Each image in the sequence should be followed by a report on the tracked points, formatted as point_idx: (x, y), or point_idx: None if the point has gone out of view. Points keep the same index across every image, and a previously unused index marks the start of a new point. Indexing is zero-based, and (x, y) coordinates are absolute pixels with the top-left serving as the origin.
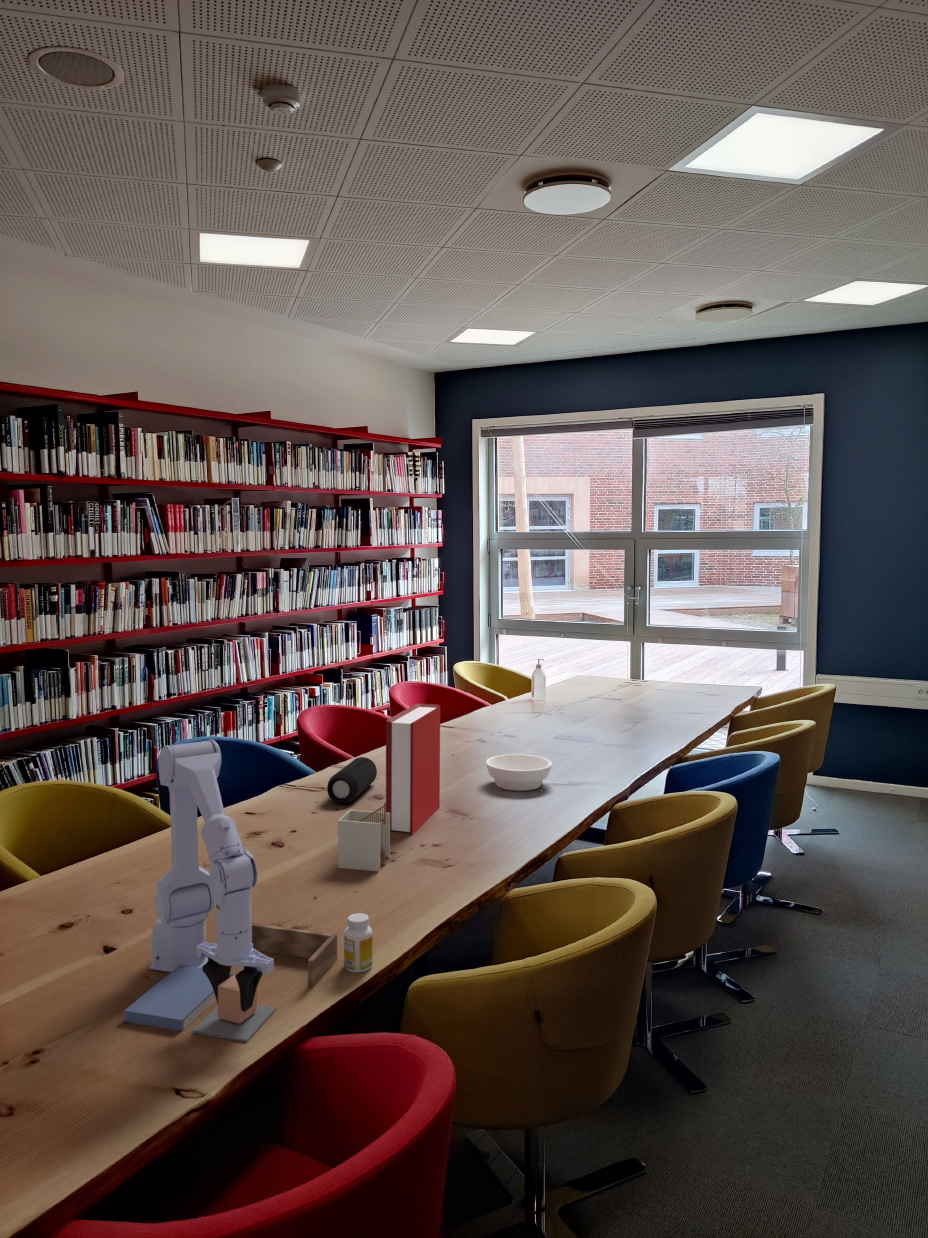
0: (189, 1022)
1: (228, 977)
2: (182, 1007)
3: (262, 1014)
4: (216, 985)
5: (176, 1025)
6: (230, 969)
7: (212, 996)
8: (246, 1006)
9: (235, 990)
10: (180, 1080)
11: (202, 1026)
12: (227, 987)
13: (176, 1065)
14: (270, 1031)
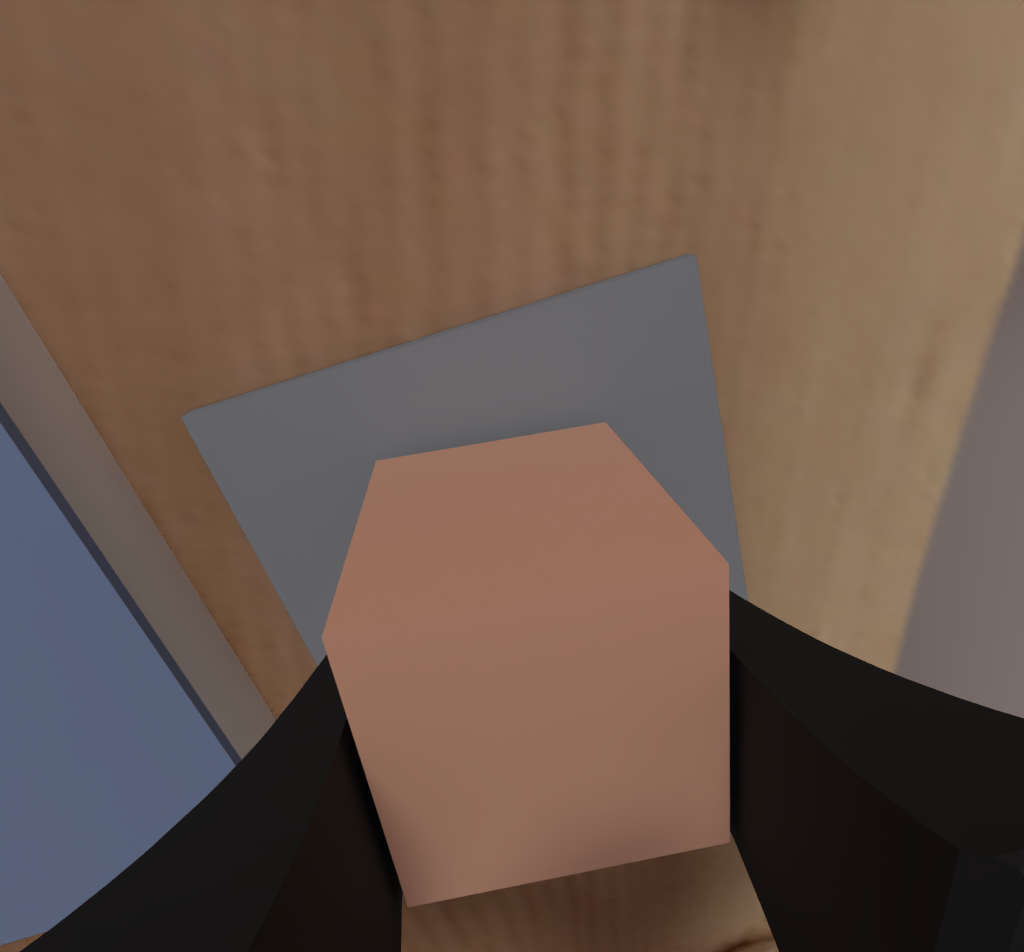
0: None
1: (346, 765)
2: (132, 789)
3: (657, 404)
4: (399, 932)
5: None
6: (314, 827)
7: (92, 500)
8: None
9: (663, 854)
10: (650, 944)
11: None
12: (532, 871)
13: (551, 915)
14: (815, 494)
